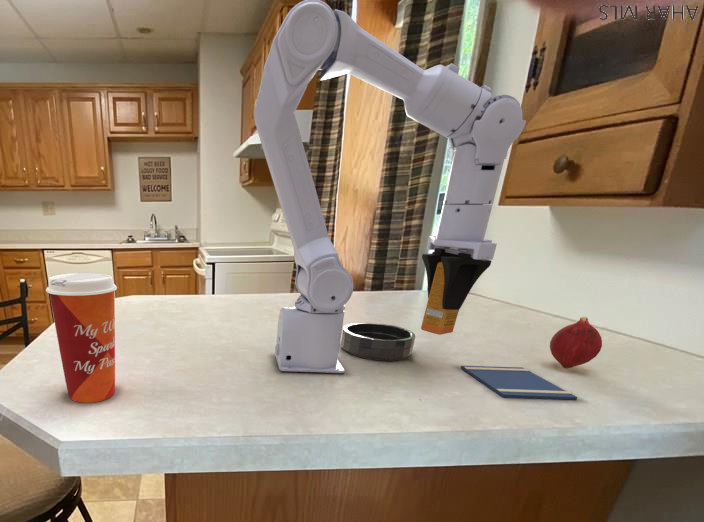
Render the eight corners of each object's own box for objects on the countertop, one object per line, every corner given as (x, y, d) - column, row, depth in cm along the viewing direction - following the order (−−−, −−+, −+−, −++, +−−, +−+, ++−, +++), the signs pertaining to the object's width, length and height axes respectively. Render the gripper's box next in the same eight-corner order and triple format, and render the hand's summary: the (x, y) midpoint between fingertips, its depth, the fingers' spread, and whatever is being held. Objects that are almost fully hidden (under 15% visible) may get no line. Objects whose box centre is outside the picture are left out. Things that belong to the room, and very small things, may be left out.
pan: (350, 360, 68) (353, 339, 67) (334, 340, 78) (336, 322, 77) (422, 362, 67) (427, 341, 66) (396, 342, 77) (400, 323, 76)
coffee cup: (92, 412, 50) (80, 284, 44) (45, 397, 54) (28, 278, 48) (137, 389, 57) (131, 275, 51) (92, 376, 61) (82, 270, 55)
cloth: (503, 397, 55) (504, 393, 55) (460, 367, 65) (461, 364, 65) (576, 400, 54) (577, 396, 54) (521, 369, 64) (522, 366, 64)
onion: (600, 376, 62) (622, 323, 59) (556, 373, 63) (575, 320, 60) (576, 363, 67) (595, 313, 64) (535, 360, 68) (552, 311, 65)
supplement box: (441, 335, 61) (458, 264, 57) (419, 330, 64) (434, 261, 60) (455, 333, 63) (473, 263, 59) (434, 327, 65) (449, 260, 62)
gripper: (534, 204, 50) (501, 318, 55) (469, 205, 63) (448, 296, 68) (472, 204, 50) (445, 316, 55) (420, 205, 63) (403, 295, 69)
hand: (443, 305), depth 62 cm, fingers closed on supplement box, 4 cm apart
